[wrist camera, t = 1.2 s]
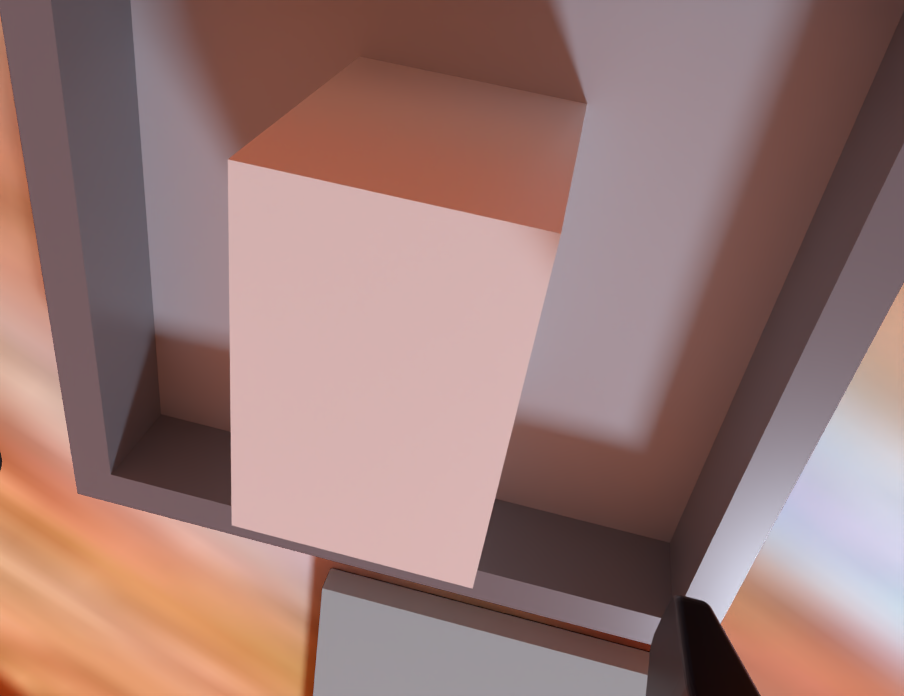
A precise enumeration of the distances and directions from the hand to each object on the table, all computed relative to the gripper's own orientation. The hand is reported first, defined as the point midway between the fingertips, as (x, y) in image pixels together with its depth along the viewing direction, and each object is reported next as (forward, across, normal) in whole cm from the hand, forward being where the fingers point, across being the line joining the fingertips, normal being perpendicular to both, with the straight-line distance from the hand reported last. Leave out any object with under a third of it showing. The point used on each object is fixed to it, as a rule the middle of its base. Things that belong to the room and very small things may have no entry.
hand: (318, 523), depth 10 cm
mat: (+9, -4, +18) cm, 21 cm away
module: (+9, 0, 0) cm, 9 cm away
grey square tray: (+9, 0, 0) cm, 9 cm away
